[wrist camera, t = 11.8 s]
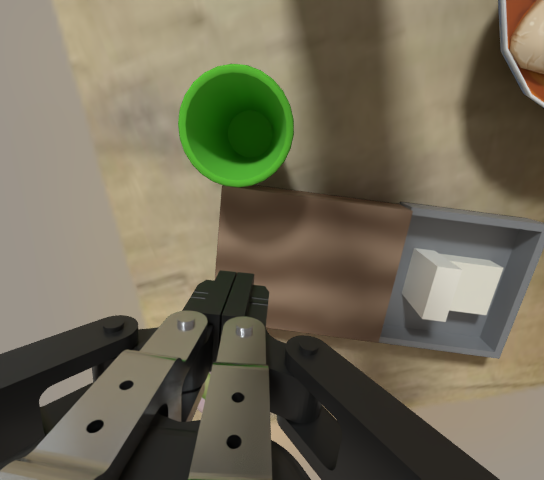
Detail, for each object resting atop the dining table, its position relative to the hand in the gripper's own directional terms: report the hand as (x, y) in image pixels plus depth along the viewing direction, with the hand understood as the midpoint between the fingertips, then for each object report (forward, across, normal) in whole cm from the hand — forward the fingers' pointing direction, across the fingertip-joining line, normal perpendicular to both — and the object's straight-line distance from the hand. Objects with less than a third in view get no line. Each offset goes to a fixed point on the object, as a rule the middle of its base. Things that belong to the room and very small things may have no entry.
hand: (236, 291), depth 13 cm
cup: (+24, +2, -7) cm, 25 cm away
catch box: (+24, -22, +8) cm, 33 cm away
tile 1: (+20, -18, +7) cm, 28 cm away
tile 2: (+21, -24, +8) cm, 33 cm away
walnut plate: (+24, -5, +7) cm, 25 cm away
